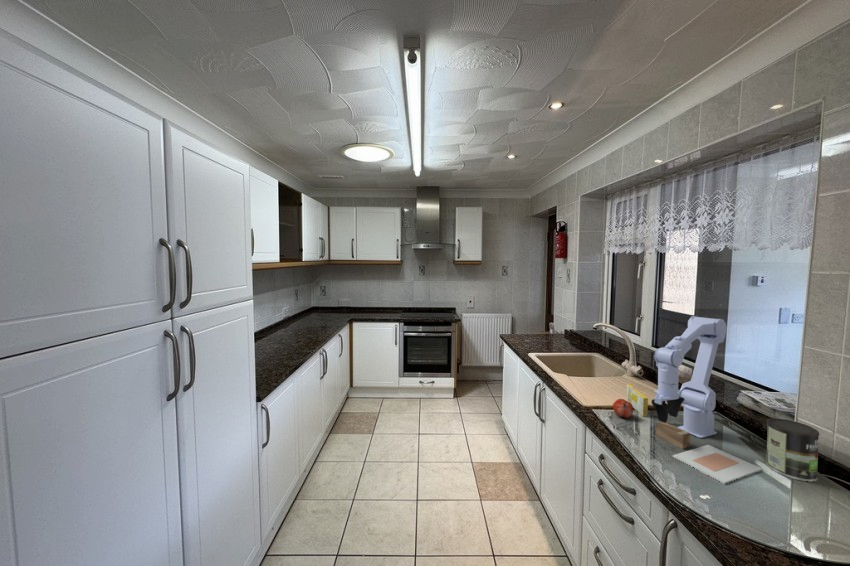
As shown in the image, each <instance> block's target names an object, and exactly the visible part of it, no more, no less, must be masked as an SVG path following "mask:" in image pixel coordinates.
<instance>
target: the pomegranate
mask: <svg viewBox="0 0 850 566" xmlns="http://www.w3.org/2000/svg"><path fill="white" fill-rule="evenodd" d="M612 409H613V411H614V413H615V414H616V415H617V416H619V417H620V418H626V419H629V418H631V417H632V416H633V413H634V408H633V406H632V404H631V403H629V402H627V401H626V399H623V398H619V399H616V400H615V401H614V402H613V403H612Z"/></svg>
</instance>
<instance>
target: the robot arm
mask: <svg viewBox="0 0 850 566" xmlns="http://www.w3.org/2000/svg"><path fill="white" fill-rule="evenodd" d="M727 330H728V328H727V323H726V321H725V320H724V319H723V318H713V317H712V318H709V317H703V316H702V317H700V316H695V315H692V316H690V318H689V319H688V320H687V328H686V329H685V330H684V332H683V333H682V334H681V335H680V336H674V337H673V338H672V339H671V340H670V341H669V342H668V343H667V344H666V345H665V346H663V347H659V348H657V349H656V350H655V352H654V356H653V357H654V361H655V365H656V367H657V368H658V369H657V370H658V371H657V389H655V390H654V393H655V394H656V396H655V397H654V398H653V399H651V404H652V406H653V407H654V410H655V412H656V416H657V419H658V421H659V422H664V423H667V422H668V417H669V416H670V417H674V418H677V417H678V415H679V412H680V411H679V410H680V408H681V407H683V421H682V422H683V425H680V426H679V425H678V426H677V428H679V429H682V430H684V431H687V432H689V433H690V435H691V436H694V437H697V438H699V439H703V438H708V437H710V436H714V435H716V434H717V433H718V432H717V431H715V414H714V412H713V411H714V410H715V408H716V404H717V403H716V398H717V396H716V395H717V394H716V392H715V391H714V390H713V389H712V388H711V387H710V386H709V382H710V380H711V379H710V378H711V374H712V370H713V366H714V363H715V358H716V355H717V351H718V347H719V344H721V343H724V341H725V339H726V335H727ZM695 340H699V342H700V344H699V348H698V351H697V356H696V360H695V364H694V368H693V372H692V375H691V379H690V381H686V382H684V383H682V385H681V387H680V389H679V367H680V366H681V365H682V363H683V360H684V359H685V355H686V354H687V353H688V352H689V351H690V350H692V346H693V345H692V343H693V342H694V341H695ZM717 435H718V434H717Z"/></svg>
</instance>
